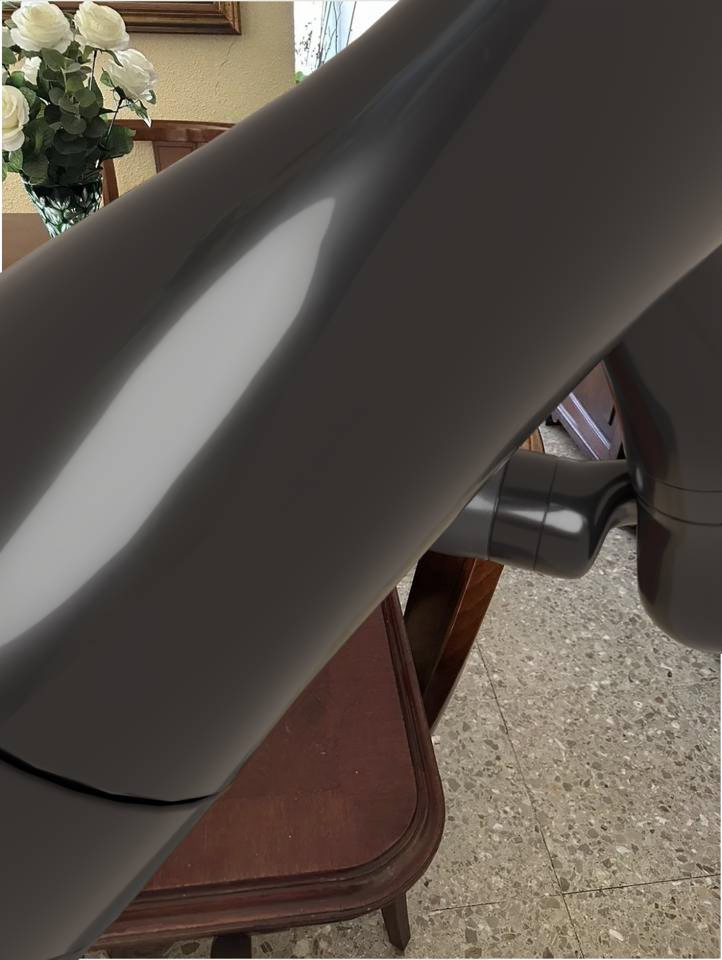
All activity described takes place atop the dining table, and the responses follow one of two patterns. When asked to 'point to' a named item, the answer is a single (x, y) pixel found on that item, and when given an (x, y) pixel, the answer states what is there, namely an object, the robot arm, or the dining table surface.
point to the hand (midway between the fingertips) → (199, 435)
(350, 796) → the dining table surface
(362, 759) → the dining table surface
